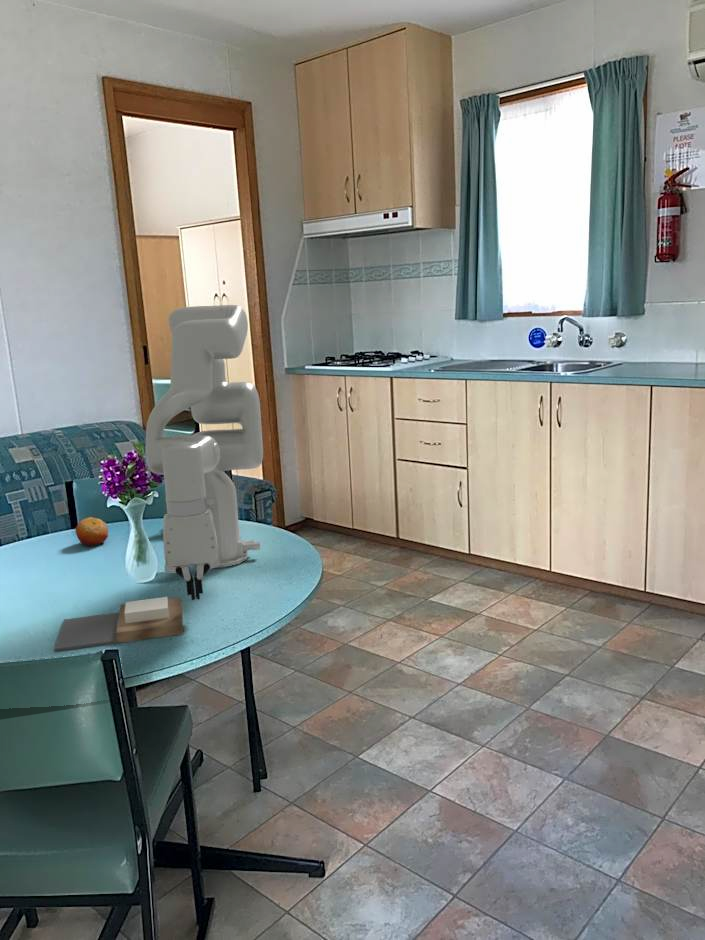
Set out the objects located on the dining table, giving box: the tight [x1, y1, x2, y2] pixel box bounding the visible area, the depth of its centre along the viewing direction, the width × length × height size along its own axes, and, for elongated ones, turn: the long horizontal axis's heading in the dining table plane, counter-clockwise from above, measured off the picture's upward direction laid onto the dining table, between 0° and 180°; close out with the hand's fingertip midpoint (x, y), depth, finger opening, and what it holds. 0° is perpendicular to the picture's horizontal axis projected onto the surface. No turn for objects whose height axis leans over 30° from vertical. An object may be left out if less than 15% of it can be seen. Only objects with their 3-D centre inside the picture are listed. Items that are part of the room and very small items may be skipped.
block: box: [124, 596, 169, 623], centre depth 151 cm, size 8×6×2 cm
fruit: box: [75, 516, 109, 547], centre depth 205 cm, size 8×8×8 cm
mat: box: [54, 611, 119, 652], centre depth 150 cm, size 11×14×1 cm
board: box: [116, 597, 184, 644], centre depth 152 cm, size 12×14×2 cm
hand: (195, 597), depth 153 cm, fingers closed
